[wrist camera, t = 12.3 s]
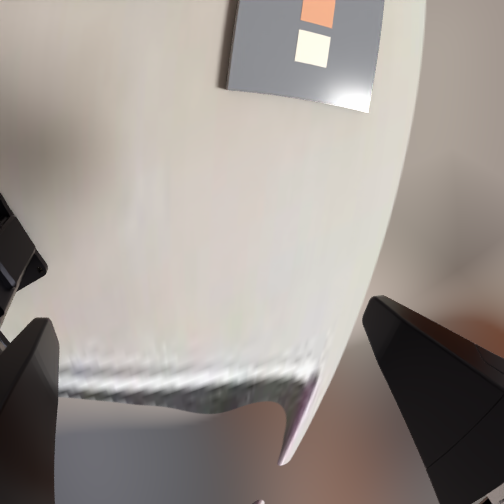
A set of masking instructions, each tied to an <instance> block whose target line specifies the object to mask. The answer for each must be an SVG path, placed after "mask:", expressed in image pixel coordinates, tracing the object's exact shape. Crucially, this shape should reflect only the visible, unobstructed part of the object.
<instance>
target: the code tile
mask: <svg viewBox="0 0 504 504" xmlns="http://www.w3.org/2000/svg"><path fill="white" fill-rule="evenodd" d="M383 10H384V0H238V2H237V9H236V16H235V23H234V30H233V37H232V44H231V51H230V59H229V67H228V75H227V83H226V90H233V91H243V92H253V93H262V94H270V95H277V96H284V97H291V98H297V99H303V100H309V101H315V102H320V103H325V104H330V105H335V106H340V107H345V108H349V109H354V110H358V111H362V112H367V113H368V111H369V105H370V100H371V94H372V88H373V83H374V76H375V70H376V64H377V57H378V50H379V43H380V35H381V27H382V19H383Z"/></svg>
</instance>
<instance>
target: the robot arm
mask: <svg viewBox="0 0 504 504" xmlns="http://www.w3.org/2000/svg"><path fill="white" fill-rule="evenodd" d="M38 267H41V268H42V269H43V270H40V269H39V268H38ZM47 270H48V266H47V264H46V262H45V261H44V260H43V258H42V257H41V255H40V254H39V253H38V251H37V250H36V248H35V245H34V244H33V242H32V241H31V239H30V238H29V236H28V235H27V233H26V232H25V230H24V229H23V227H22V226H21V224H20V223H19V221H18V219H17V218H16V217H15V216H14V215H13V213H12V211H11V210H10V208H9V206H8V205H7V203H6V201H5V200H4V198H3V196H2V195H1V194H0V328H1V325H2V323H3V321H4V318H5V316H6V314H7V311H8V309H9V307H10V304H11V302H12V300H13V298H14V296H15V293H16V292H17V291H19V290H20V289H22V288H24V287H25V286H27V285H29V284H31V283H32V282H34V281H36V280H38V279H39V278H41V277H43V276H44V275H45V274H46V272H47ZM362 322H363V326H364V328H365V331H366V334H367V336H368V339H369V342H370V344H371V347H372V349H373V352H374V355H375V357H376V360H377V362H378V365H379V367H380V369H381V371H382V373H383V375H384V377H385V380H386V381H387V383H388V385H389V388H390V390H391V392H392V394H393V396H394V398H395V400H396V402H397V405H398V407H399V409H400V411H401V413H402V416H403V418H404V420H405V422H406V424H407V427H408V429H409V431H410V433H411V435H412V438H413V440H414V442H415V445H416V447H417V449H418V452H419V454H420V456H421V459H422V461H423V463H424V466H425V468H426V471H427V473H428V476H429V478H430V481H431V483H432V486H433V488H434V491H435V493H436V496H437V498H438V501H439V503H440V504H472V503H473V502H475V501H477V500H478V499H480V498H482V497H483V496H485V495H487V497H486V498H484V499H483V500H482V501H481V502H480V503H479V504H504V358H501V357H499V356H497V355H495V354H493V353H491V352H490V351H488V350H486V349H484V348H482V347H480V346H478V345H477V344H474V343H473V342H471V341H469V340H467V339H465V338H463V337H462V336H460V335H458V334H456V333H454V332H452V331H450V330H449V329H447V328H445V327H443V326H441V325H439V324H437V323H436V322H434V321H431V320H430V319H428V318H426V317H424V316H422V315H420V314H419V313H417V312H415V311H413V310H411V309H409V308H407V307H405V306H403V305H401V304H399V303H397V302H396V301H394V300H392V299H390V298H388V297H386V296H384V295H380V296H373V297H372V298H371V299H370V300H369V303H368V305H367V308H366V310H365V312H364V315H363V318H362ZM58 372H59V341H58V338H57V336H56V333H55V330H54V327H53V324H52V322H51V320H50V319H49V318H35V319H33V320H32V321H31V322H30V323H29V324H28V325H27V326H26V327H25V328H24V329H23V331H22V332H21V333H20V334H19V335H18V336H17V337H16V338H15V339H14V340H13V341H12V342H11V343H10V342H9V341H8V340H7V339H6V337H5V336H4V335H3V334H2V332H1V331H0V504H55V498H54V454H55V452H54V451H55V433H56V419H57V407H58Z"/></svg>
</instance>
